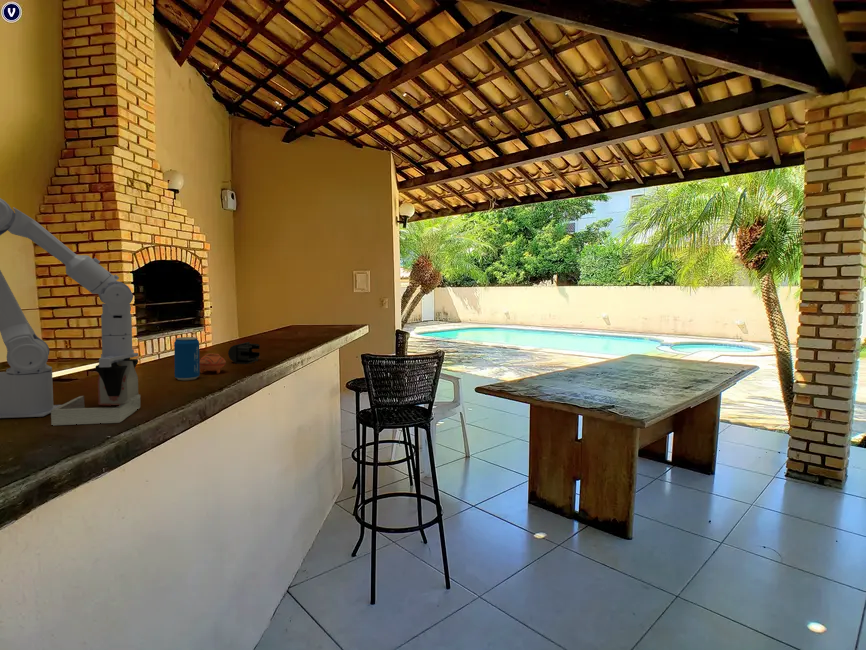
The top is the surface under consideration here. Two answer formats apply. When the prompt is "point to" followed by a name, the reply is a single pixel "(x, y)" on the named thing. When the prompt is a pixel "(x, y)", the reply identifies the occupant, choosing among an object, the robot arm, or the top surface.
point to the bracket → (92, 412)
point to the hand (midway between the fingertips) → (118, 393)
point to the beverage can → (186, 358)
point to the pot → (211, 362)
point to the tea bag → (127, 386)
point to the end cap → (244, 353)
